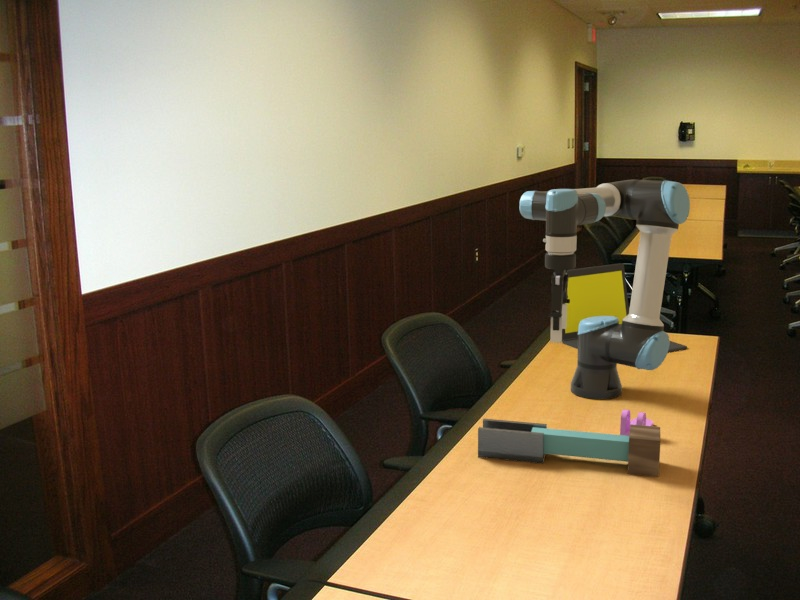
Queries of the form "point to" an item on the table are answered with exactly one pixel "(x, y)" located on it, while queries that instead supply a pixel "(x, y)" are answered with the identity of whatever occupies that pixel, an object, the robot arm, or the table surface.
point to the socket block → (644, 450)
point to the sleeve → (511, 441)
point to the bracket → (637, 421)
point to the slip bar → (585, 444)
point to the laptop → (597, 299)
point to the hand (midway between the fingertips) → (558, 335)
